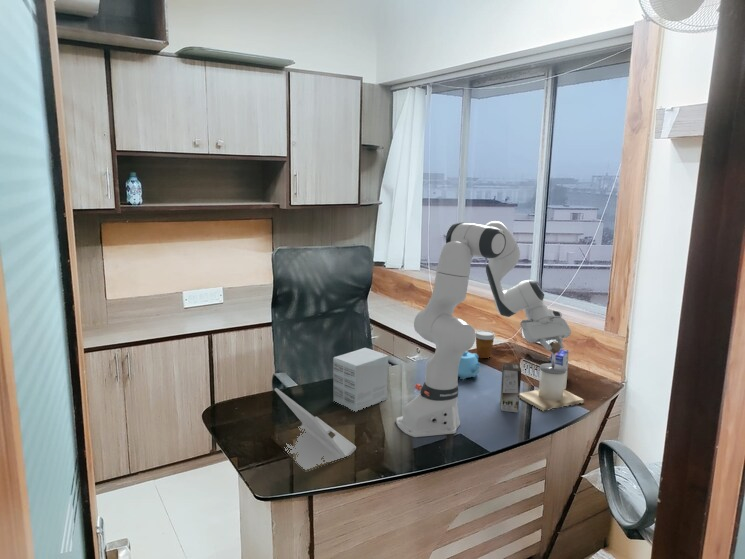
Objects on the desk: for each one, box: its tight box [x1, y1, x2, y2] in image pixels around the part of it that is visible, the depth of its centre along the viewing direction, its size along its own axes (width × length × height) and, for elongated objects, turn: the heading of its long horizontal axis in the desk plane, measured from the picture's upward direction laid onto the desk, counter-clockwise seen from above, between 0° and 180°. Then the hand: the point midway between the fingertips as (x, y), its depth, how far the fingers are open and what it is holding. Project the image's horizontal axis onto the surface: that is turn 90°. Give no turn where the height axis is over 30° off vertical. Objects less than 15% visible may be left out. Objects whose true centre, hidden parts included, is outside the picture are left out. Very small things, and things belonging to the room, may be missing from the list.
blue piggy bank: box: [458, 350, 481, 380], centre depth 224 cm, size 15×14×11 cm
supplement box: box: [332, 347, 389, 413], centre depth 197 cm, size 17×13×18 cm
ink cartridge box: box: [550, 349, 569, 372], centre depth 222 cm, size 10×6×14 cm, turn 148°
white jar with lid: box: [538, 362, 568, 401], centre depth 201 cm, size 11×10×12 cm
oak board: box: [519, 389, 584, 412], centre depth 201 cm, size 20×14×2 cm
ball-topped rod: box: [548, 341, 561, 368], centre depth 198 cm, size 4×4×10 cm
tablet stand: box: [274, 387, 357, 470], centre depth 163 cm, size 18×25×17 cm
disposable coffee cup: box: [475, 329, 496, 359], centre depth 250 cm, size 10×10×12 cm
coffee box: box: [499, 362, 523, 413], centre depth 193 cm, size 9×6×16 cm
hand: (555, 349), depth 197 cm, fingers closed on ball-topped rod, 4 cm apart
